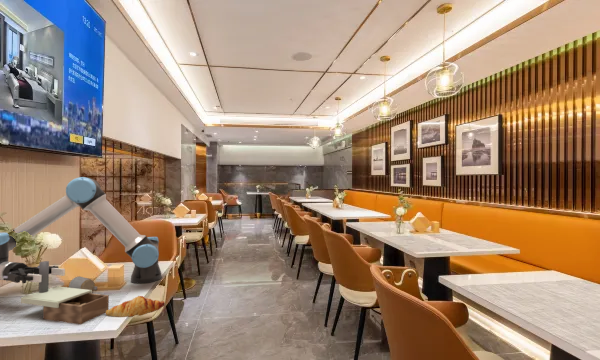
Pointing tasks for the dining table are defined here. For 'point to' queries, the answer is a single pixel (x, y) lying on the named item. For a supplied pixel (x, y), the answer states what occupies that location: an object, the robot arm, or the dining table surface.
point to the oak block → (74, 303)
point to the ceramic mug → (82, 283)
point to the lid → (51, 291)
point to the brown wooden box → (78, 309)
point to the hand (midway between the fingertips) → (52, 275)
